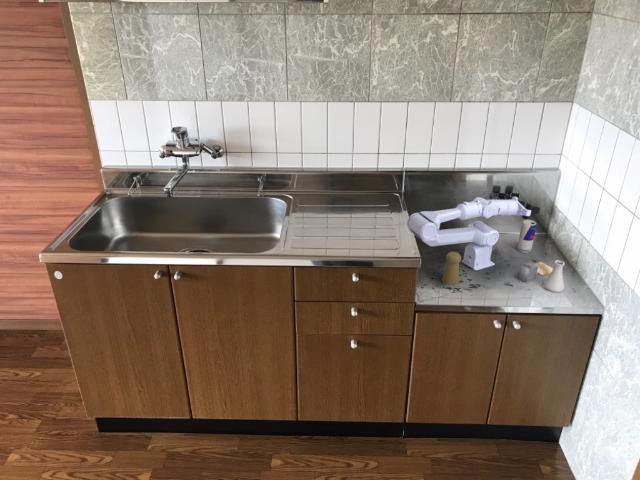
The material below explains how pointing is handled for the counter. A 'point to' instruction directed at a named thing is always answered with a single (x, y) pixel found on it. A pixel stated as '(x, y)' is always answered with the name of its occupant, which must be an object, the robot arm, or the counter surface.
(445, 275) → the pepper shaker
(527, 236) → the energy drink
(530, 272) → the plug
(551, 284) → the flask
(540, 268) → the coaster
